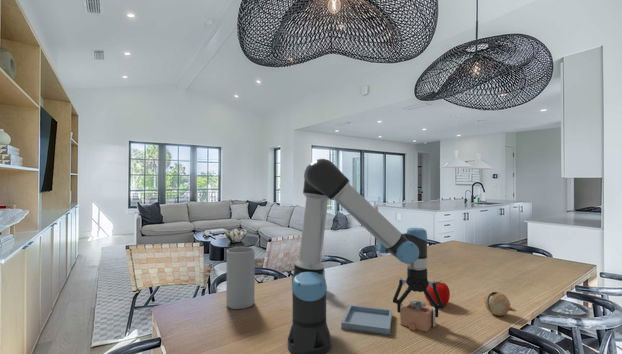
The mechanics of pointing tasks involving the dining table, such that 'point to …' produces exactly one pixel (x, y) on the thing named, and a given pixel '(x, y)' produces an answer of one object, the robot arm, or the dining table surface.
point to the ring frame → (417, 317)
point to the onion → (498, 304)
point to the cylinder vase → (240, 277)
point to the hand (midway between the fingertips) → (417, 322)
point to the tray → (367, 319)
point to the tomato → (439, 292)
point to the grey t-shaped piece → (417, 305)
